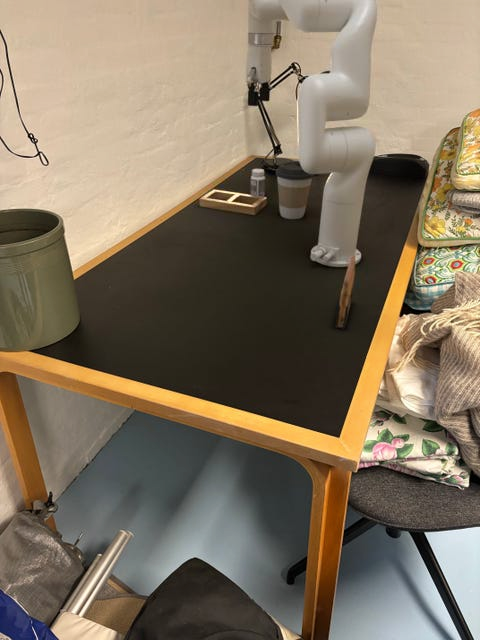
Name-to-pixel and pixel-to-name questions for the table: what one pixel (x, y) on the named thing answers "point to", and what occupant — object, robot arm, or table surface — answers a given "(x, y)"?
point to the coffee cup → (293, 189)
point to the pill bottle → (258, 182)
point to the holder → (233, 202)
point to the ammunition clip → (346, 295)
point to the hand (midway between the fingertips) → (258, 103)
